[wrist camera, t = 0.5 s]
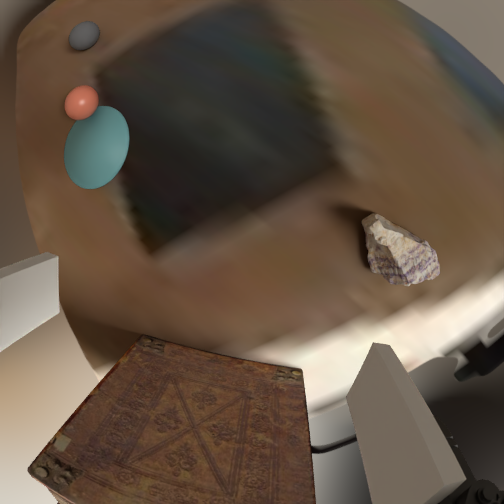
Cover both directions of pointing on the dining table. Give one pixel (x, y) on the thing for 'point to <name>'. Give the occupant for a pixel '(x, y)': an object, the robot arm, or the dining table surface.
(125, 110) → the dining table surface
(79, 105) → the object ball
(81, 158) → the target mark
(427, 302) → the dining table surface
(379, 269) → the mineral specimen
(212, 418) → the book
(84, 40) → the gray ball
